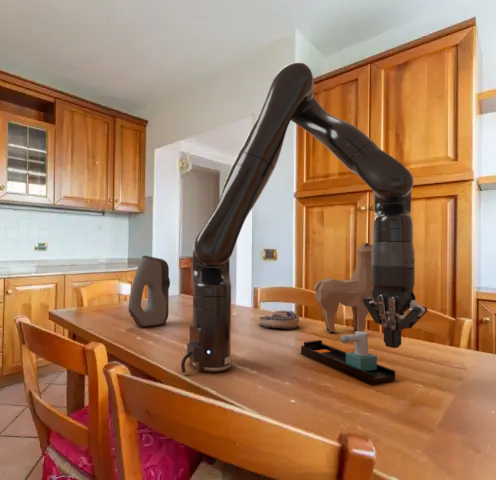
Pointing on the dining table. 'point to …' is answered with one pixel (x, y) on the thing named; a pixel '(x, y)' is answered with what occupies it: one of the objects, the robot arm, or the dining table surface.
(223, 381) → the dining table surface
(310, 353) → the rail
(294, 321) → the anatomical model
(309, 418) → the dining table surface
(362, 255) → the toy
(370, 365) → the handle
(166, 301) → the brown holed slab
